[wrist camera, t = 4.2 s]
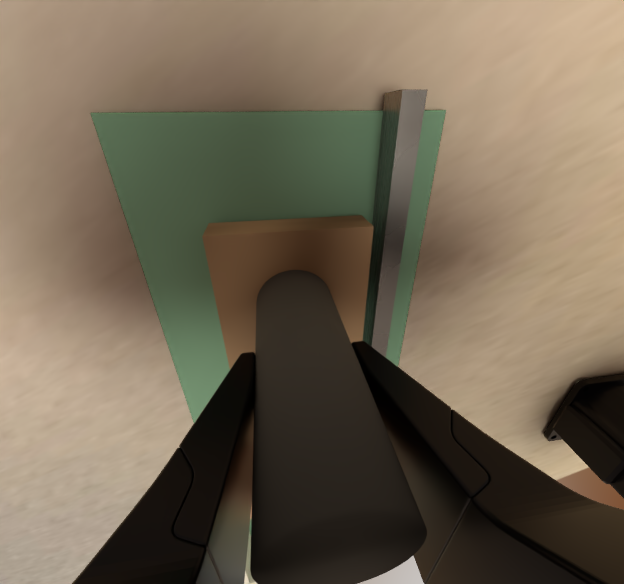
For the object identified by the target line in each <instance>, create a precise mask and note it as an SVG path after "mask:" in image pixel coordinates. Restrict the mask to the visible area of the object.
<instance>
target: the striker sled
mask: <svg viewBox="0 0 624 584" xmlns="http://www.w3.org/2000/svg"><path fill="white" fill-rule="evenodd" d="M373 228H374V226H373V225H372V224H371V223H370V222H368V221H367V220H366V219H365V218H364V217H363V216H362V215H353V216H334V217H316V218H297V219H278V220H259V221H240V222H221V223H209V224H208V226H207V228H206V230H205V232H204V234H203V236H202V238H203V243H204V247H205V252H206V257H207V262H208V267H209V272H210V276H211V281H212V286H213V291H214V296H215V301H216V305H217V310H218V315H219V320H220V325H221V330H222V334H223V339H224V344H225V349H226V354H227V358H228V363H229V368H230V369H231V368H232V366H233V365H234V363H235V362H236V360H237V359H238V357H239V356H240V354H242V353H247V352H254V353H255V392H254V432H253V476H252V506H251V517H250V519H252V520H251V564H250V571H251V576H252V578H253V580H254V581H255V582H256V583H258V584H357V583H360V582H363V581H366V580H369V579H371V578H374V577H377V576H379V575H381V574H383V573H386V572H388V571H390V570H391V569H393V568H395V567H397V566H399V565H400V564H402V563H403V562H405V561H406V560H408V559H409V558H410V557H411V556H413V555H414V554H415V553H416V552H417V551H418V550H419V549H420V548H421V546H422V545H423V544H424V542H425V540H426V537H427V529H426V526H425V523H424V521H423V518H422V516H421V513H420V511H419V509H418V506H417V504H416V501H415V499H414V496H413V494H412V491H411V489H410V487H409V484H408V482H407V479H406V477H405V474H404V472H403V469H402V467H401V464H400V462H399V460H398V457H397V455H396V452H395V450H394V447H393V445H392V442H391V440H390V437H389V435H388V433H387V430H386V428H385V425H384V423H383V420H382V418H381V415H380V413H379V410H378V408H377V406H376V403H375V401H374V398H373V396H372V393H371V391H370V388H369V386H368V383H367V381H366V379H365V376H364V374H363V371H362V369H361V366H360V364H359V361H358V359H357V357H356V354H355V352H354V349H353V347H352V344H351V343H352V342H356V341H362V340H363V330H364V320H365V310H366V299H367V289H368V279H369V269H370V259H371V249H372V239H373Z"/></svg>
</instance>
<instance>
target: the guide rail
mask: <svg viewBox="0 0 624 584" xmlns="http://www.w3.org/2000/svg"><path fill="white" fill-rule="evenodd" d="M426 96H427V90H399V91H394V92H390V93H385V95H384V106H383V116H382V127H381V137H380V148H379V158H378V169H377V179H376V190H375V200H374V210H373V221H372V225H373V226H374V228H373V239H372V249H371V259H370V269H369V279H368V289H367V299H366V310H365V320H364V330H363V340H362V341H365V342H366V343H368V344H369V345H370V346H372V347H373V348H374V349H375V350H377V351H378V352H379V353H381V354H382V355H383V356H384V357H386V352H387V346H388V340H389V333H390V327H391V320H392V314H393V307H394V301H395V295H396V288H397V282H398V275H399V269H400V263H401V256H402V250H403V243H404V237H405V230H406V224H407V218H408V211H409V205H410V198H411V192H412V185H413V179H414V173H415V166H416V160H417V153H418V147H419V140H420V134H421V128H422V121H423V115H424V108H425V102H426Z"/></svg>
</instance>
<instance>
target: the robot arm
mask: <svg viewBox="0 0 624 584" xmlns="http://www.w3.org/2000/svg"><path fill="white" fill-rule="evenodd" d="M351 344H352V347H353V349H354V352H355V354H356V357H357V359H358V361H359V364H360V366H361V369H362V371H363V374H364V376H365V379H366V381H367V383H368V386H369V388H370V391H371V393H372V396H373V398H374V401H375V403H376V406H377V408H378V410H379V413H380V415H381V418H382V420H383V423H384V425H385V428H386V430H387V433H388V435H389V437H390V440H391V442H392V445H393V447H394V450H395V452H396V455H397V457H398V460H399V462H400V464H401V467H402V469H403V472H404V474H405V477H406V479H407V482H408V484H409V487H410V489H411V491H412V494H413V496H414V499H415V501H416V504H417V506H418V509H419V511H420V513H421V516H422V518H423V521H424V523H425V526H426V529H427V537H426V540H425V542H424V544H423V545H422V546H421V548H420V549H419V550H418V551H417V552H416V553H415V554H414V558H415V561H416V563H417V566H418V569H419V571H420V574H421V577H422V579H423V582H424V584H624V510H622V509H619V508H615V507H612V506H608V505H605V504H602V503H599V502H596V501H593V500H591V499H589V498H587V497H584V496H582V495H580V494H578V493H576V492H574V491H572V490H571V489H569V488H567V487H565V486H564V485H562V484H561V483H559V482H557V481H556V480H554V479H553V478H551V477H550V476H548V475H547V474H545V473H544V472H542V471H541V470H539V469H538V468H536V467H535V466H533V465H532V464H530V463H529V462H527V461H526V460H524V459H522V458H521V457H519V456H518V455H516V454H515V453H513V452H512V451H510V450H509V449H507V448H506V447H504V446H503V445H501V444H500V443H498V442H497V441H496V440H494V439H493V438H491V437H490V436H488V435H487V434H485V433H484V432H482V431H481V430H480V429H478V428H477V427H476V426H474V425H473V424H472V423H470V422H469V421H468V420H466V419H465V418H464V417H462V416H461V415H460V414H458V413H457V412H456V411H455V410H451V408H450V407H449V406H448V405H447V404H445V403H444V402H443V401H441V400H440V399H439V398H438V397H436V396H435V395H434V394H432V393H431V392H430V391H428V390H427V389H426V388H425V387H423V386H422V385H421V384H419V383H418V382H417V381H416V380H414V379H413V378H412V377H410V376H409V375H408V374H406V373H405V372H404V371H403V370H401V369H400V368H399V367H397V366H396V365H395V364H394V363H392V362H391V361H390V360H388V359H387V358H386V357H384V356H383V355H382V354H381V353H379V352H378V351H377V350H375V349H374V348H373V347H372V346H370V345H369V344H368V343H366V342H365V341H356V342H352V343H351ZM254 392H255V353H254V352H247V353H242V354H240V356H239V357H238V359H237V360H236V362H235V363H234V365H233V366H232V368H231V369H230V371H229V372H228V374H227V375H226V377H225V378H224V380H223V381H222V383H221V384H220V386H219V387H218V389H217V390H216V392H215V393H214V395H213V396H212V398H211V399H210V401H209V402H208V403H207V405H206V406H205V408H204V409H203V411H202V412H201V414H200V415H199V417H198V418H197V420H196V421H195V423H194V424H193V426H192V427H191V429H190V430H189V432H188V433H187V435H186V436H185V438H184V439H183V441H182V442H181V444H180V445H179V447H180V448H177V449H176V451H175V452H174V454H173V456H172V457H171V459H170V460H169V462H168V463H167V464H166V466H165V467H164V469H163V470H162V471H161V473H160V474H159V476H158V477H157V479H156V480H155V481H154V483H153V484H152V485H151V487H150V488H149V489H148V490H147V492H146V493H145V494H144V496H143V497H142V498H141V499H140V501H139V502H138V503H137V505H136V506H135V507H134V508H133V510H132V511H131V512H130V513H129V515H128V516H127V517H126V518H125V519H124V521H123V522H122V523H121V524H120V526H119V527H118V528H117V529H116V531H115V532H114V533H113V534H112V536H111V537H110V538H109V539H108V540H107V542H106V543H105V544H104V545H103V547H102V548H101V549H100V550H99V552H98V553H97V554H96V555H95V557H94V558H93V559H92V560H91V562H90V563H89V564H88V565H87V566H86V568H85V569H84V570H83V571H82V573H81V574H80V575H79V576H78V577H77V578H76V580H75V581H74V582H73V583H72V584H244V580H245V569H246V559H247V548H248V538H249V527H250V517H251V506H252V476H253V432H254ZM544 437H545V438H546V439H547V440H548V441H555V440H561V439H563V440H564V441H565V442H566V443H567V444H568V445H569V446H570V447H571V448H572V450H573V451H574V452H575V453H576V454H577V455H578V456H579V457H580V458H581V459H582V460H583V461H584V462H585V463H586V464H587V465H588V466H589V467H590V468H591V470H592V471H593V472H594V473H595V474H596V475H597V476H598V477H599V478H600V479H601V480H602V481H603V482H604V483H606V484H610V485H611V486H613V488H614V489H615V490H616V491H617V492H618V493H619V494H620V495H621V496H622V497H623V498H624V374H622V375H614V376H607V377H600V378H593V379H586V380H581V381H579V382H577V383H576V384H575V385H574V387H573V388H572V390H571V391H570V393H569V395H568V396H567V398H566V399H565V401H564V403H563V404H562V406H561V407H560V409H559V411H558V412H557V414H556V415H555V417H554V419H553V420H552V422H551V423H550V425H549V426H548V428H547V430H546V431H545V433H544Z"/></svg>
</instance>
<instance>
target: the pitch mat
mask: <svg viewBox="0 0 624 584" xmlns="http://www.w3.org/2000/svg"><path fill="white" fill-rule="evenodd" d="M445 113H446V110H424V115H423V121H422V128H421V134H420V140H419V147H418V153H417V160H416V166H415V173H414V179H413V185H412V192H411V198H410V205H409V211H408V218H407V224H406V230H405V237H404V243H403V250H402V256H401V263H400V269H399V275H398V282H397V288H396V295H395V301H394V307H393V314H392V320H391V327H390V333H389V340H388V346H387V352H386V358H387V359H388V360H390V361H391V362H392V363H394V364H395V365H396V366H397V367H398V364H399V358H400V353H401V348H402V342H403V337H404V332H405V326H406V321H407V316H408V310H409V305H410V300H411V294H412V289H413V284H414V278H415V273H416V268H417V262H418V257H419V252H420V246H421V241H422V236H423V230H424V225H425V220H426V214H427V209H428V204H429V198H430V193H431V188H432V182H433V177H434V172H435V166H436V161H437V156H438V150H439V145H440V140H441V134H442V129H443V124H444V118H445ZM91 116H92V119H93V122H94V125H95V128H96V131H97V134H98V137H99V140H100V143H101V146H102V149H103V152H104V155H105V158H106V161H107V164H108V167H109V170H110V173H111V176H112V179H113V182H114V185H115V188H116V191H117V194H118V197H119V200H120V203H121V206H122V209H123V212H124V215H125V218H126V221H127V224H128V227H129V230H130V233H131V236H132V239H133V242H134V245H135V248H136V251H137V254H138V257H139V260H140V263H141V266H142V269H143V272H144V275H145V278H146V281H147V284H148V287H149V290H150V293H151V296H152V299H153V302H154V305H155V308H156V311H157V314H158V317H159V320H160V323H161V326H162V329H163V332H164V335H165V338H166V341H167V344H168V347H169V350H170V353H171V356H172V359H173V362H174V365H175V368H176V371H177V374H178V377H179V380H180V383H181V386H182V389H183V392H184V395H185V398H186V401H187V404H188V407H189V410H190V413H191V416H192V419H193V422H194V423H195V421H196V420H197V418H198V417H199V415H200V414H201V412H202V411H203V409H204V408H205V406H206V405H207V403H208V402H209V401H210V399H211V398H212V396H213V395H214V393H215V392H216V390H217V389H218V387H219V386H220V384H221V383H222V381H223V380H224V378H225V377H226V375H227V374H228V372H229V371H230V368H229V363H228V358H227V354H226V349H225V344H224V339H223V334H222V330H221V325H220V320H219V315H218V310H217V305H216V301H215V296H214V291H213V286H212V281H211V276H210V272H209V267H208V262H207V257H206V252H205V247H204V243H203V238H202V236H203V234H204V232H205V230H206V228H207V226H208V224H209V223H221V222H240V221H259V220H278V219H297V218H316V217H334V216H353V215H362V216H363V217H364V218H365V219H366V220H367V221H368V222H370V223H371V224H372V221H373V210H374V200H375V190H376V179H377V169H378V158H379V148H380V137H381V127H382V116H383V111H262V112H126V113H91ZM251 520H252V519H250V527H249V531H250V535H251Z"/></svg>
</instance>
